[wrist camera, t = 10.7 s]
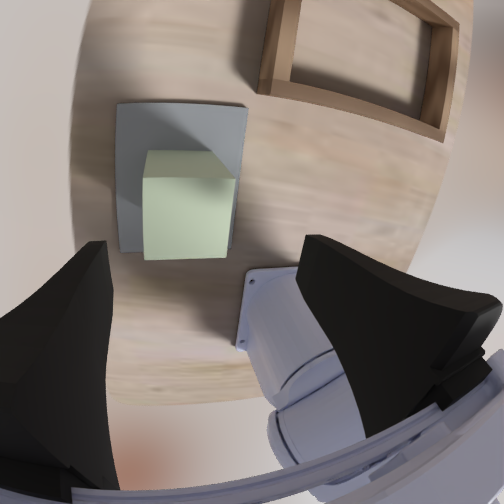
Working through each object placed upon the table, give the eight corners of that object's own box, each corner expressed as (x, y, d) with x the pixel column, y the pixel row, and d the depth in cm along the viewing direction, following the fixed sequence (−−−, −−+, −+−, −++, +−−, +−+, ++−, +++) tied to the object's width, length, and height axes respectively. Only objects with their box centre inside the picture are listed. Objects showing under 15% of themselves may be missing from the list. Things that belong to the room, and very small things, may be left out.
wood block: (206, 210, 19) (226, 257, 15) (146, 210, 18) (144, 260, 13) (212, 151, 17) (235, 178, 13) (147, 150, 16) (142, 177, 11)
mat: (229, 246, 22) (230, 248, 22) (120, 250, 19) (120, 252, 19) (246, 107, 17) (248, 108, 17) (117, 103, 14) (116, 103, 14)
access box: (423, 135, 22) (443, 143, 20) (256, 93, 17) (270, 95, 15) (439, 23, 16) (459, 23, 14) (280, -54, 11) (295, -68, 9)
